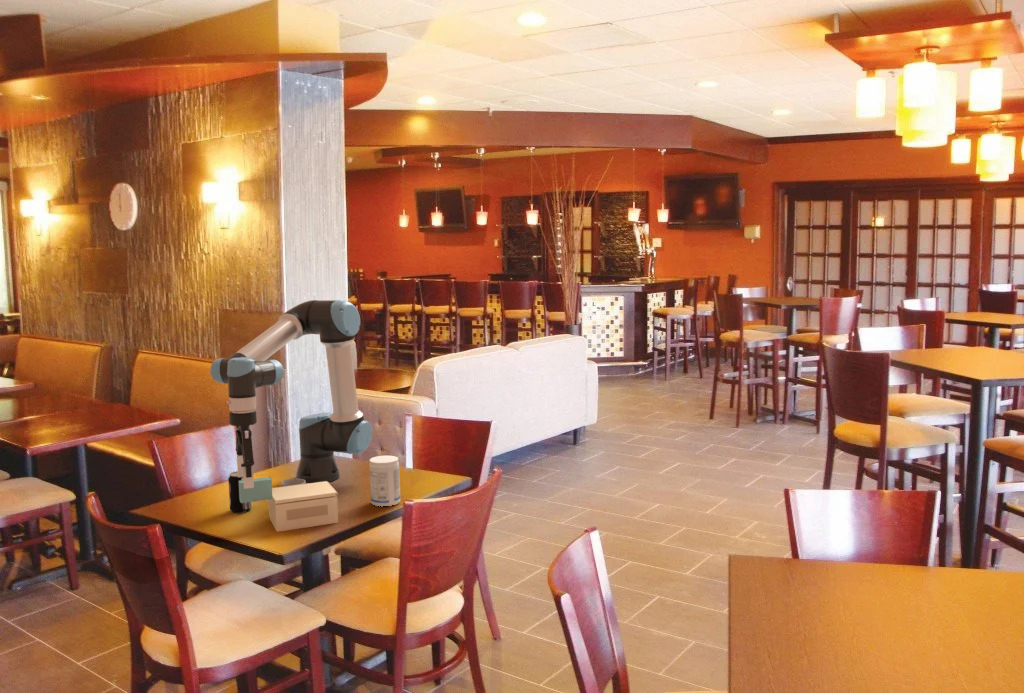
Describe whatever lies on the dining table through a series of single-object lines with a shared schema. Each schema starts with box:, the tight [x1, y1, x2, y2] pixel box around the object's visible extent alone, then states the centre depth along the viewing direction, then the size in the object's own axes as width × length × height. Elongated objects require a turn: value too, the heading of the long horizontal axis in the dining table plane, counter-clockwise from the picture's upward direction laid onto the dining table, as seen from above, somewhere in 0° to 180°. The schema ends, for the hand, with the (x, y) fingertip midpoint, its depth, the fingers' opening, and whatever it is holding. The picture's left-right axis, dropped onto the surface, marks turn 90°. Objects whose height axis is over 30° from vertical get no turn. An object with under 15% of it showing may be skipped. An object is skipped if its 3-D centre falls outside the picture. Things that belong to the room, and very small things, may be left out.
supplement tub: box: [368, 455, 401, 508], centre depth 271 cm, size 10×10×15 cm
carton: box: [267, 495, 339, 532], centre depth 256 cm, size 14×18×8 cm
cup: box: [280, 478, 307, 487], centre depth 267 cm, size 8×10×8 cm
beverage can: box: [227, 470, 253, 514], centre depth 266 cm, size 7×7×12 cm
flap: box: [239, 476, 339, 504], centre depth 253 cm, size 14×27×6 cm, turn 115°
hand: (245, 482), depth 247 cm, fingers open, 13 cm apart
